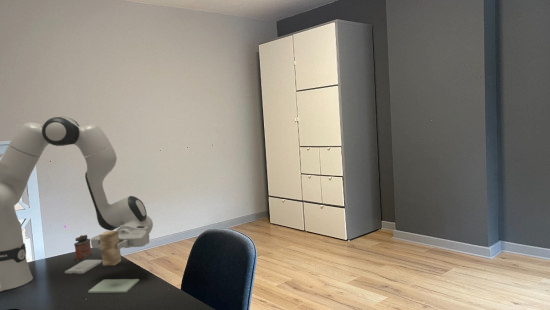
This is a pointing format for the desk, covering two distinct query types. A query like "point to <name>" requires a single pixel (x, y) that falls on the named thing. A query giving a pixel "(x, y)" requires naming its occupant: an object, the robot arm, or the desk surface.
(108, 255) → the oak block
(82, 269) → the external hard drive
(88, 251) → the lighter
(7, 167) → the robot arm
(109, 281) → the mat
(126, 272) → the desk surface
